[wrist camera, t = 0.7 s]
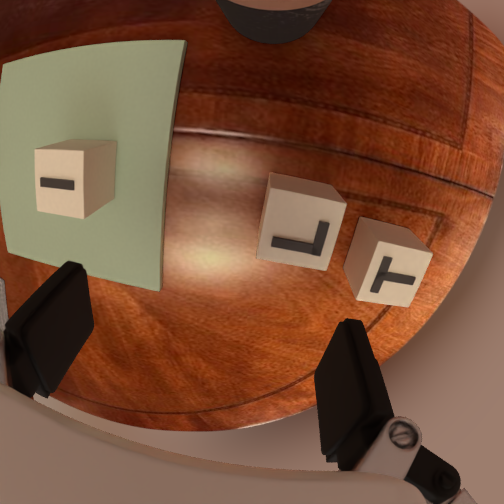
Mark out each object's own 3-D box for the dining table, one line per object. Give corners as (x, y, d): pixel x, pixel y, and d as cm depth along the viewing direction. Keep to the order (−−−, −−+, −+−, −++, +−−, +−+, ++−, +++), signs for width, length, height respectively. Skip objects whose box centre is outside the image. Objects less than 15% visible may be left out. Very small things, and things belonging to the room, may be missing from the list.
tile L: (269, 171, 22) (270, 188, 18) (332, 184, 23) (347, 204, 18) (258, 230, 25) (255, 260, 20) (316, 241, 25) (327, 272, 20)
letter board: (7, 64, 17) (3, 64, 17) (187, 42, 18) (185, 40, 17) (11, 249, 27) (8, 252, 27) (162, 287, 28) (159, 291, 27)
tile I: (70, 139, 21) (32, 149, 16) (117, 141, 21) (82, 151, 16) (70, 192, 23) (35, 212, 18) (114, 198, 23) (82, 220, 19)
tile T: (359, 215, 24) (379, 241, 19) (408, 228, 24) (434, 254, 19) (342, 267, 26) (356, 301, 21) (389, 276, 26) (409, 309, 21)
